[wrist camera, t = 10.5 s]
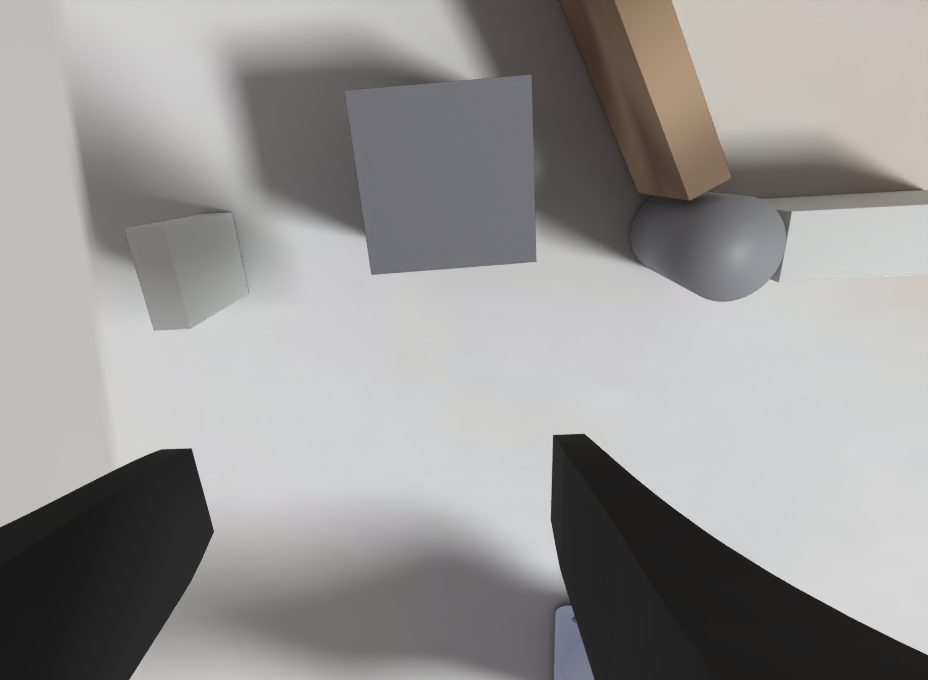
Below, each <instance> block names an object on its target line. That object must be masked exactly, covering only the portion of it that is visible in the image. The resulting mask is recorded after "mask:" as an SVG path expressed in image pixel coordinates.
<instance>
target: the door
mask: <svg viewBox="0 0 928 680" xmlns="http://www.w3.org/2000/svg"><path fill="white" fill-rule="evenodd" d="M559 1H560V3H561V6H562V8H563V10H564V13H565V15H566V18H567V20H568V23H569V25H570V28H571V30H572V32H573V35H574V37H575V40H576V42H577V45H578V47H579V50H580V52H581V54H582V57H583V59H584V62H585V64H586V67H587V69H588V72H589V74H590V76H591V79H592V81H593V84H594V86H595V89H596V91H597V94H598V96H599V98H600V101H601V103H602V106H603V108H604V111H605V113H606V116H607V118H608V120H609V123H610V125H611V128H612V130H613V133H614V135H615V138H616V140H617V142H618V145H619V147H620V150H621V152H622V155H623V157H624V160H625V162H626V164H627V167H628V169H629V172H630V174H631V177H632V179H633V182H634V184H635V186H636V189H637V191H638V193H643V194H649V195H656V196H662V197H669V198H676V199H682V200H689V201H690V200H692V199H694V198H695V197H697V196H699V195H701V194H703V193H705V192H707V191H709V190H711V189H712V188H714V187H716V186H718V185H720V184H722V183H724V182H726V181H727V180H729V179H731V178H732V177H731V174H730V171H729V168H728V165H727V162H726V160H725V157H724V154H723V151H722V148H721V145H720V142H719V139H718V136H717V133H716V130H715V127H714V124H713V121H712V118H711V115H710V112H709V110H708V107H707V104H706V101H705V98H704V95H703V92H702V89H701V86H700V83H699V80H698V77H697V74H696V71H695V68H694V65H693V62H692V59H691V57H690V54H689V51H688V48H687V45H686V42H685V39H684V36H683V33H682V30H681V27H680V24H679V21H678V18H677V15H676V12H675V9H674V7H673V4H672V1H671V0H559Z"/></svg>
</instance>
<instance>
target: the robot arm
mask: <svg viewBox="0 0 928 680" xmlns="http://www.w3.org/2000/svg"><path fill="white" fill-rule="evenodd" d="M551 523H552V528H553V534H554V539H555V545H556V550H557V555H558V560H559V565H560V570H561V573H562V576H563V580H564V583H565V586H566V590H567V593H568V596H569V599H570V603H571V606H562V607H560V608H558V609H557V610H556V613H555V645H554V680H928V655H926V654H924V653H922V652H920V651H918V650H916V649H914V648H911V647H909V646H907V645H905V644H903V643H901V642H899V641H897V640H895V639H893V638H891V637H889V636H887V635H885V634H883V633H881V632H879V631H877V630H875V629H873V628H871V627H869V626H867V625H865V624H863V623H861V622H859V621H857V620H855V619H853V618H851V617H849V616H847V615H845V614H843V613H842V612H840V611H838V610H836V609H834V608H832V607H831V606H829V605H827V604H825V603H823V602H821V601H819V600H818V599H816V598H814V597H812V596H810V595H808V594H807V593H805V592H803V591H801V590H799V589H797V588H795V587H794V586H792V585H790V584H789V583H787V582H785V581H783V580H782V579H780V578H778V577H776V576H775V575H773V574H771V573H770V572H768V571H766V570H765V569H763V568H761V567H760V566H758V565H757V564H755V563H753V562H752V561H750V560H749V559H747V558H745V557H744V556H742V555H741V554H739V553H738V552H736V551H734V550H733V549H731V548H730V547H728V546H726V545H725V544H723V543H722V542H720V541H719V540H717V539H716V538H714V537H713V536H711V535H710V534H708V533H707V532H705V531H704V530H703V529H701V528H700V527H698V526H697V525H696V524H694V523H693V522H692V521H690V520H689V519H687V518H686V517H685V516H683V515H682V514H681V513H679V512H678V511H676V510H675V509H674V508H672V507H671V506H670V505H668V504H667V503H666V502H665V501H663V500H662V499H661V498H659V497H658V496H657V495H656V494H654V493H653V492H652V491H651V490H649V489H648V488H647V487H646V486H644V485H643V484H642V483H641V482H640V481H638V480H637V479H636V478H635V477H634V476H632V475H631V474H630V473H629V472H628V471H626V470H625V469H624V468H623V467H622V466H621V465H619V464H618V463H617V462H616V461H615V460H614V459H613V458H611V457H610V456H609V455H608V454H607V453H606V452H605V451H603V450H602V449H601V448H600V447H599V446H598V445H597V444H596V443H594V442H593V441H592V440H591V439H590V438H589V437H587V436H586V435H585V434H569V435H553V462H552V499H551ZM213 533H214V530H213V526H212V522H211V519H210V515H209V511H208V507H207V504H206V500H205V496H204V493H203V489H202V485H201V482H200V478H199V474H198V471H197V467H196V463H195V460H194V456H193V452H192V448H191V449H164V450H159V451H156V452H154V453H151V454H149V455H146V456H144V457H142V458H139V459H137V460H135V461H133V462H131V463H129V464H127V465H124V466H122V467H120V468H118V469H116V470H114V471H112V472H110V473H108V474H106V475H104V476H102V477H100V478H98V479H96V480H94V481H92V482H90V483H88V484H86V485H84V486H83V487H80V488H79V489H76V490H75V491H73V492H71V493H69V494H67V495H65V496H63V497H61V498H59V499H57V500H55V501H53V502H51V503H49V504H47V505H45V506H43V507H41V508H39V509H37V510H35V511H33V512H31V513H30V514H27V515H25V516H23V517H21V518H19V519H17V520H15V521H13V522H11V523H9V524H6V525H4V526H2V527H0V680H129V679H130V677H131V676H132V674H133V673H134V671H135V670H136V668H137V667H138V665H139V663H140V662H141V660H142V659H143V657H144V656H145V654H146V652H147V651H148V649H149V648H150V646H151V645H152V643H153V641H154V640H155V638H156V637H157V635H158V634H159V632H160V630H161V629H162V627H163V626H164V624H165V623H166V621H167V619H168V618H169V616H170V615H171V613H172V611H173V610H174V608H175V606H176V605H177V603H178V602H179V600H180V598H181V597H182V595H183V594H184V592H185V590H186V589H187V587H188V585H189V584H190V582H191V580H192V578H193V576H194V574H195V572H196V570H197V568H198V566H199V564H200V562H201V560H202V558H203V555H204V553H205V551H206V549H207V546H208V544H209V542H210V539H211V537H212V535H213Z"/></svg>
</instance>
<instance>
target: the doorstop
mask: <svg viewBox="0 0 928 680" xmlns="http://www.w3.org/2000/svg"><path fill="white" fill-rule="evenodd" d="M345 98H346V105H347V112H348V118H349V125H350V132H351V139H352V146H353V153H354V159H355V166H356V173H357V180H358V187H359V193H360V200H361V207H362V214H363V221H364V227H365V234H366V241H367V248H368V255H369V261H370V268H371V275H375V274H388V273H400V272H413V271H426V270H438V269H451V268H464V267H477V266H489V265H502V264H515V263H527V262H536V229H535V189H534V149H533V109H532V75H521V76H509V77H497V78H486V79H474V80H462V81H451V82H439V83H427V84H416V85H404V86H392V87H381V88H369V89H357V90H346V91H345Z"/></svg>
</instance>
